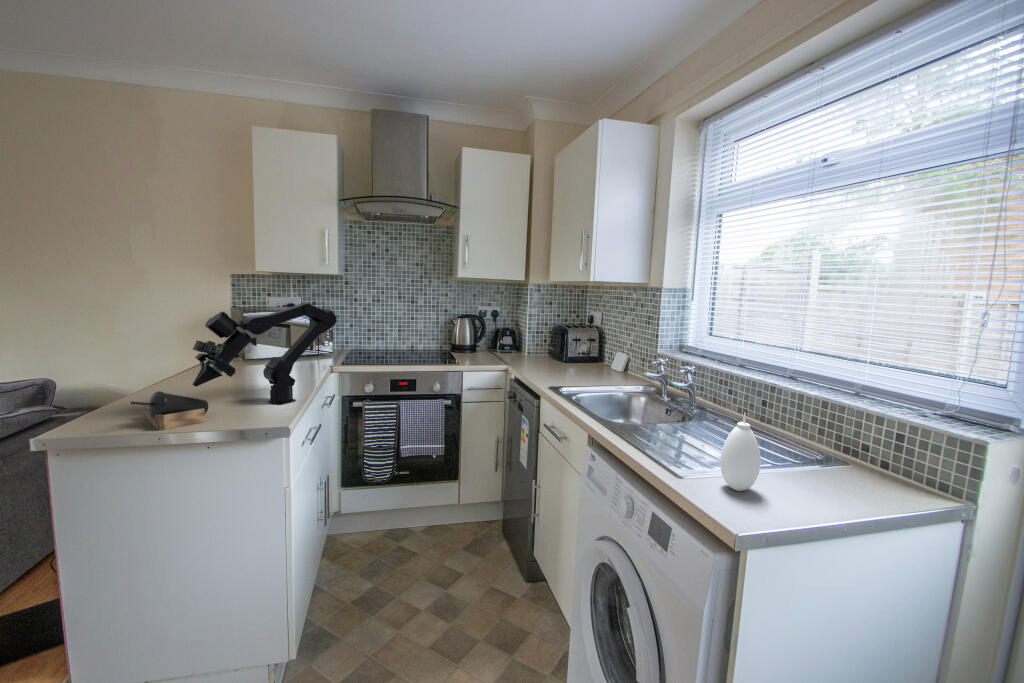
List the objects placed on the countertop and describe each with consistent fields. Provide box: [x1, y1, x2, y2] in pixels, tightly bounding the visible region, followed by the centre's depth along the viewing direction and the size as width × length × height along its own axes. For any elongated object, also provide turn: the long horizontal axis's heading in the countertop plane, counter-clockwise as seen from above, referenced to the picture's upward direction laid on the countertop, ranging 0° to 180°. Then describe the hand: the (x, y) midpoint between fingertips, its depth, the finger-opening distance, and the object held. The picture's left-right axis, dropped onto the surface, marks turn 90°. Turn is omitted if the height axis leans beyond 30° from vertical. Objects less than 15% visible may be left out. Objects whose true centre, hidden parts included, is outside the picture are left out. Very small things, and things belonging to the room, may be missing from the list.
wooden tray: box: [143, 405, 206, 431], centre depth 135 cm, size 11×15×4 cm
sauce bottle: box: [719, 411, 762, 492], centre depth 100 cm, size 8×8×18 cm
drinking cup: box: [130, 390, 209, 418], centre depth 133 cm, size 8×8×20 cm
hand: (193, 385), depth 138 cm, fingers closed
